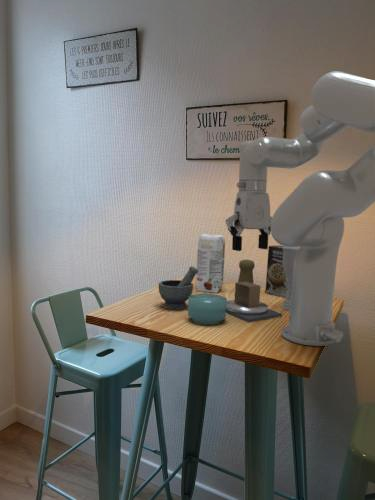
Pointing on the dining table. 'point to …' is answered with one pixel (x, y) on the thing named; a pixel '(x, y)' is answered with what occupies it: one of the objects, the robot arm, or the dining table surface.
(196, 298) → the bowl
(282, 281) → the coffee box
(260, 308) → the lid
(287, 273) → the chalice
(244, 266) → the olive pawn
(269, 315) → the mat
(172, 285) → the mortar and pestle
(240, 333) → the dining table surface
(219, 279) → the juice carton
